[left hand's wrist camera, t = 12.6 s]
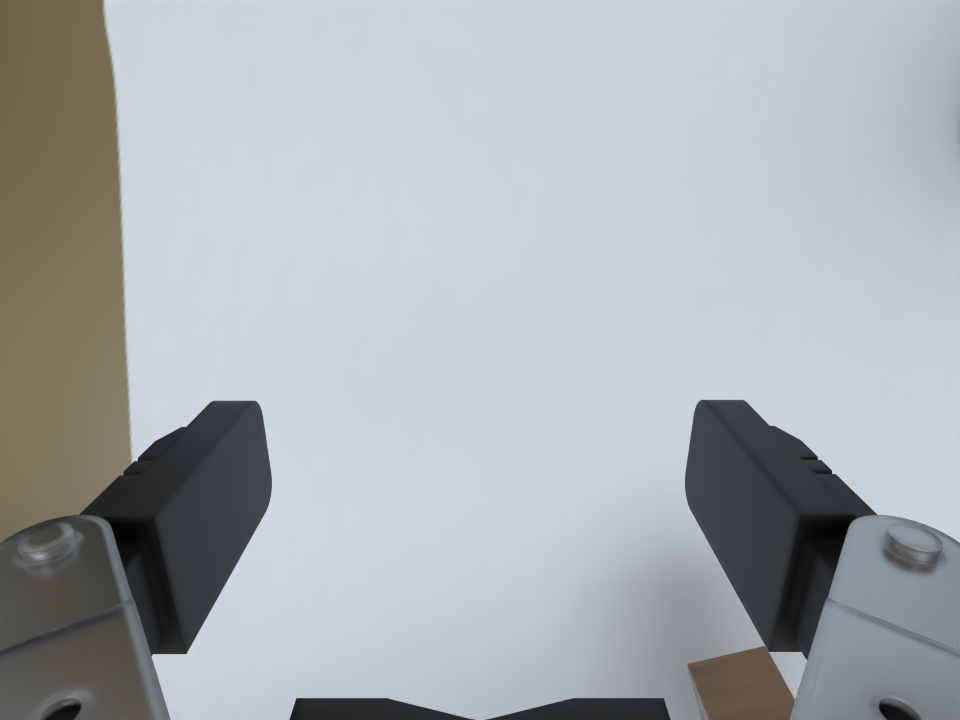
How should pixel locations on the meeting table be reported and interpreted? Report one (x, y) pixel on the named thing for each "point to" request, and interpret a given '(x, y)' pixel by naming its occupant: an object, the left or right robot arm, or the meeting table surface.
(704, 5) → the meeting table surface
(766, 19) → the meeting table surface
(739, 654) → the bar
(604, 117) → the meeting table surface
